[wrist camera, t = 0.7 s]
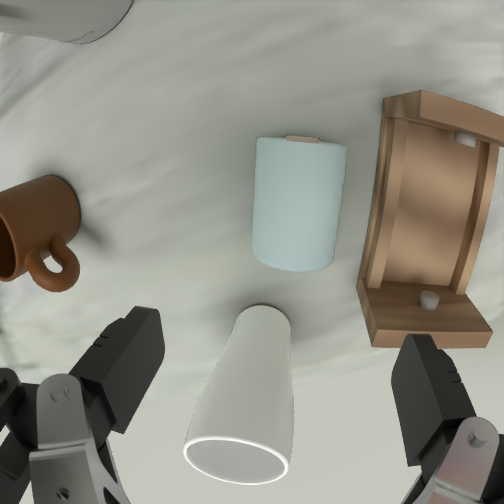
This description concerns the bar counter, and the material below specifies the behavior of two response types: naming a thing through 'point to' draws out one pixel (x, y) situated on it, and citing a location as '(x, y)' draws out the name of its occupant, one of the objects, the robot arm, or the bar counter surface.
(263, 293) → the bar counter surface
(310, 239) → the paper roll
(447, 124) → the roll holder
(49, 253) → the mug
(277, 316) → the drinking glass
